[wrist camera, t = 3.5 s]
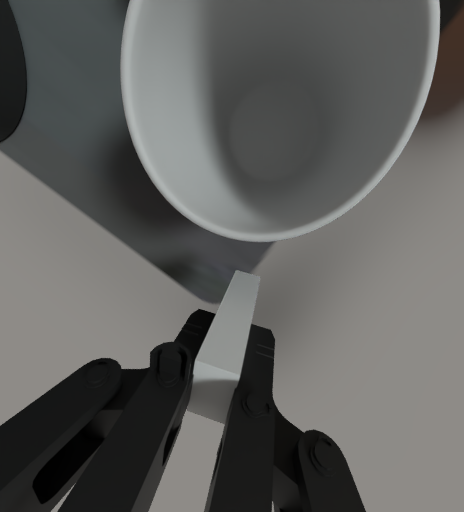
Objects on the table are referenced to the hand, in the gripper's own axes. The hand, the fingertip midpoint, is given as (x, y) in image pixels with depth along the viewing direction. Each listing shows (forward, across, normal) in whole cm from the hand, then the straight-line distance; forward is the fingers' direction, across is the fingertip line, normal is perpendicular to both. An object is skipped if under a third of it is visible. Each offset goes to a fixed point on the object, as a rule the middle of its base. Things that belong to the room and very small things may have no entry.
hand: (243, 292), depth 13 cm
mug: (+7, 0, +10) cm, 12 cm away
